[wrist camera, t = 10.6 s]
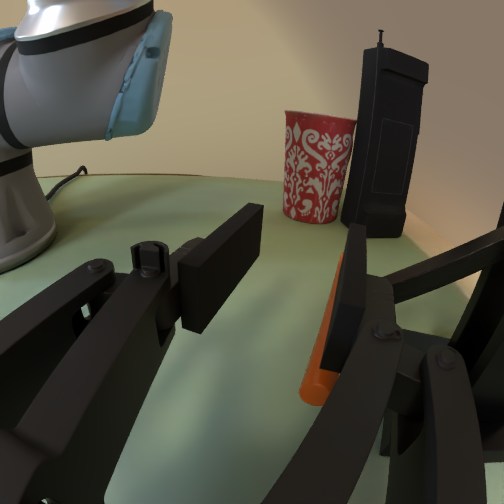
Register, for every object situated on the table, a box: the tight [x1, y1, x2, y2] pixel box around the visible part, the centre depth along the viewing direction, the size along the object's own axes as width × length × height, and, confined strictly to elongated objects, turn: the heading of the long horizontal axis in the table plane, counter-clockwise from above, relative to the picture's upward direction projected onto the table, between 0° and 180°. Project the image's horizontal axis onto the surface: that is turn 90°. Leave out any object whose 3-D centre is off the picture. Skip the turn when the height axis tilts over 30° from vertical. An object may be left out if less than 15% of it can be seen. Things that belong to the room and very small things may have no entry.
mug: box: [283, 110, 357, 224], centre depth 38 cm, size 13×9×14 cm
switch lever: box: [299, 226, 504, 406], centre depth 11 cm, size 14×11×2 cm
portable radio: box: [340, 30, 429, 238], centre depth 32 cm, size 8×6×25 cm
